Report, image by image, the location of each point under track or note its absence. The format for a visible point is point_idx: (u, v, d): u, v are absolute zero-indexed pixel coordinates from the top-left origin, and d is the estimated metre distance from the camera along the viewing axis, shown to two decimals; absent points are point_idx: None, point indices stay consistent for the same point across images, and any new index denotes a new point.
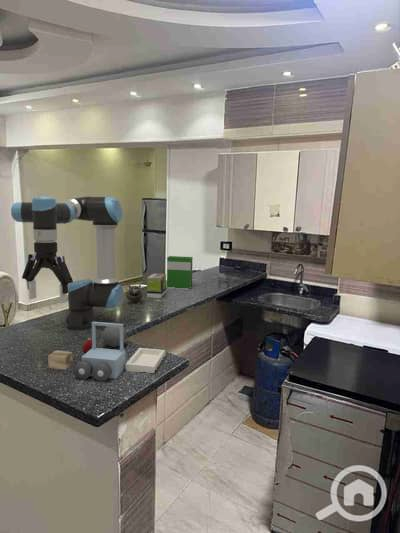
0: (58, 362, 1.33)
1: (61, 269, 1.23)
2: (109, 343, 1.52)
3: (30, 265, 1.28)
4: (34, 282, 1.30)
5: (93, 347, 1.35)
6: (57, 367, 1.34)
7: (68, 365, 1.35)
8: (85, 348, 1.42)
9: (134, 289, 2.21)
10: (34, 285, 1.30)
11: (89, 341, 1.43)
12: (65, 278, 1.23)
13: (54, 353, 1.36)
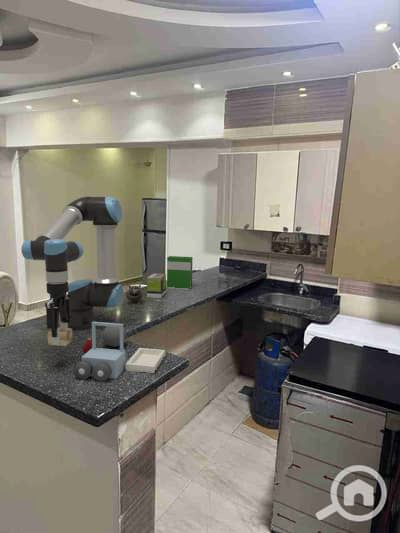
0: None
1: None
2: (109, 343, 1.52)
3: None
4: (65, 324, 1.36)
5: (93, 347, 1.35)
6: None
7: (68, 341, 1.34)
8: (85, 348, 1.42)
9: (134, 289, 2.21)
10: (65, 327, 1.37)
11: (89, 341, 1.43)
12: None
13: None
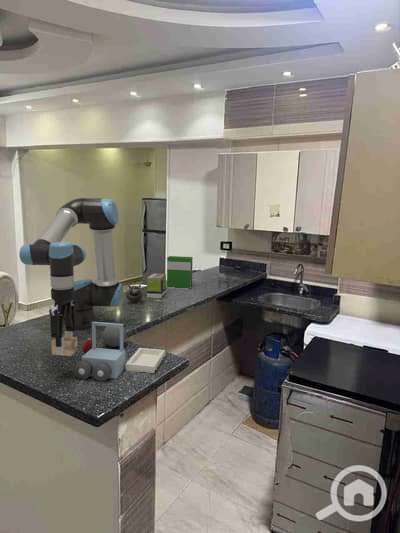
0: None
1: None
2: (109, 343, 1.52)
3: None
4: (69, 333, 1.28)
5: (93, 347, 1.35)
6: None
7: (73, 351, 1.25)
8: (85, 348, 1.42)
9: (134, 289, 2.21)
10: (69, 336, 1.28)
11: (89, 341, 1.43)
12: None
13: None
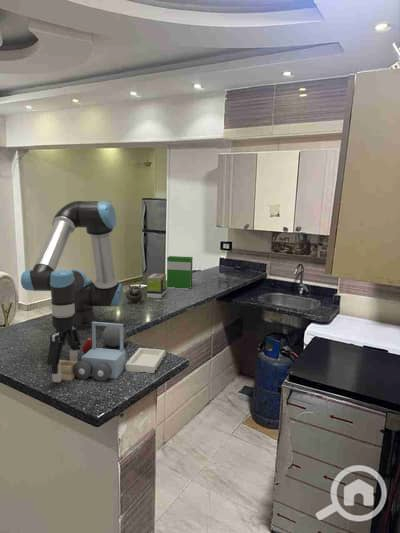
0: (63, 373, 1.25)
1: None
2: (109, 343, 1.52)
3: None
4: (74, 352, 1.32)
5: (93, 347, 1.35)
6: (62, 378, 1.26)
7: (73, 375, 1.27)
8: (85, 348, 1.42)
9: (134, 289, 2.21)
10: (74, 355, 1.33)
11: (89, 341, 1.43)
12: None
13: None
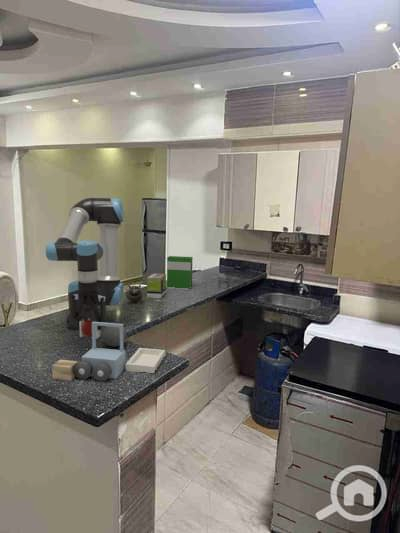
0: (63, 373, 1.25)
1: (100, 308, 1.40)
2: (109, 343, 1.52)
3: (76, 304, 1.42)
4: (83, 321, 1.44)
5: (93, 347, 1.35)
6: (62, 378, 1.26)
7: (73, 376, 1.27)
8: (85, 328, 1.41)
9: (134, 289, 2.21)
10: (83, 324, 1.44)
11: (89, 321, 1.42)
12: (102, 317, 1.40)
13: (58, 363, 1.28)
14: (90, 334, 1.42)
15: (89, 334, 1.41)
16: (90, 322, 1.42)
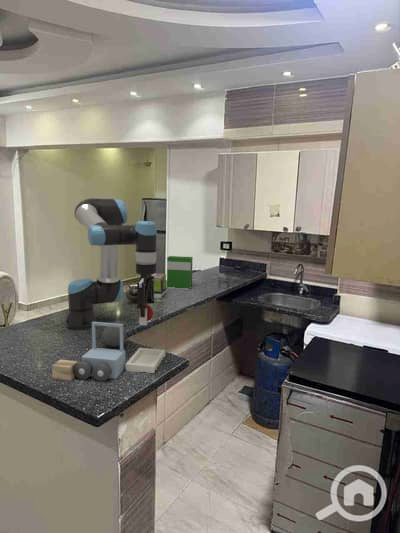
0: (63, 373, 1.25)
1: None
2: (109, 343, 1.52)
3: None
4: (150, 305, 1.39)
5: (93, 347, 1.35)
6: (61, 378, 1.26)
7: (73, 376, 1.27)
8: None
9: (134, 289, 2.21)
10: None
11: None
12: None
13: (59, 363, 1.28)
14: None
15: None
16: None
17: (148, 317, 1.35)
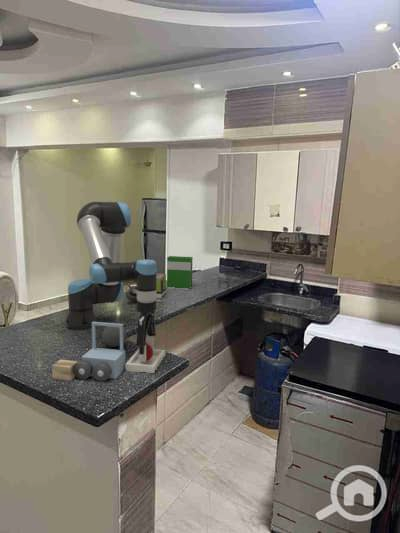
0: (63, 373, 1.25)
1: None
2: (109, 343, 1.52)
3: None
4: (151, 338, 1.43)
5: (93, 347, 1.35)
6: (61, 378, 1.26)
7: (73, 376, 1.27)
8: None
9: (134, 289, 2.21)
10: (151, 340, 1.43)
11: None
12: None
13: (59, 363, 1.28)
14: None
15: None
16: None
17: (148, 357, 1.37)
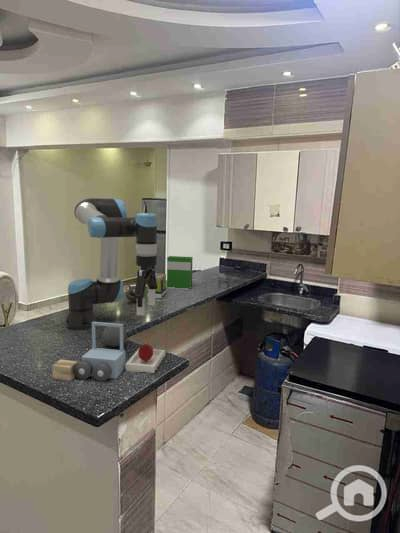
0: (63, 373, 1.25)
1: None
2: (109, 343, 1.52)
3: None
4: (153, 291, 1.42)
5: (93, 347, 1.35)
6: (61, 378, 1.26)
7: (73, 376, 1.27)
8: None
9: (134, 289, 2.21)
10: (153, 293, 1.42)
11: None
12: None
13: (59, 362, 1.28)
14: None
15: (139, 356, 1.39)
16: (143, 345, 1.38)
17: (148, 357, 1.37)
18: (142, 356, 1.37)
